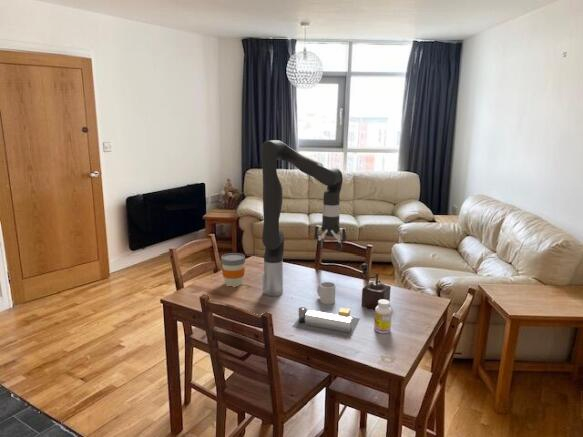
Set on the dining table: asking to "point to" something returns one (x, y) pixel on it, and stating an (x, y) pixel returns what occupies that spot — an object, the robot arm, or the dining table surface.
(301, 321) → the base
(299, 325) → the mat
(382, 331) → the supplement bottle
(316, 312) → the bar
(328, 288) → the cup
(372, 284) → the coffee grinder
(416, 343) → the dining table surface
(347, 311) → the block
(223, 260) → the reusable coffee cup
